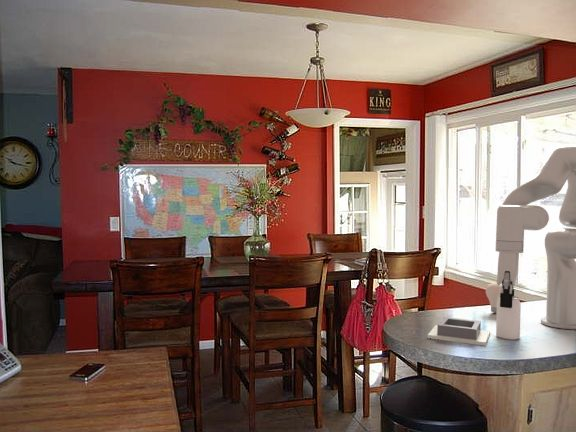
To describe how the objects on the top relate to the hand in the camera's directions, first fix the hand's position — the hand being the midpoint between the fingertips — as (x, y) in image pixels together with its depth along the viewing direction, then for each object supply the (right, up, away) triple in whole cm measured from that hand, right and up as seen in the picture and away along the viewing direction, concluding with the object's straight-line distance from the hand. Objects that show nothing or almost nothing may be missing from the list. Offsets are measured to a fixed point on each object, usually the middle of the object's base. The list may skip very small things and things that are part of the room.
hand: (506, 304), depth 147 cm
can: (+1, -10, +1) cm, 10 cm away
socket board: (-14, -10, +1) cm, 17 cm away
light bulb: (+9, -9, +31) cm, 34 cm away
